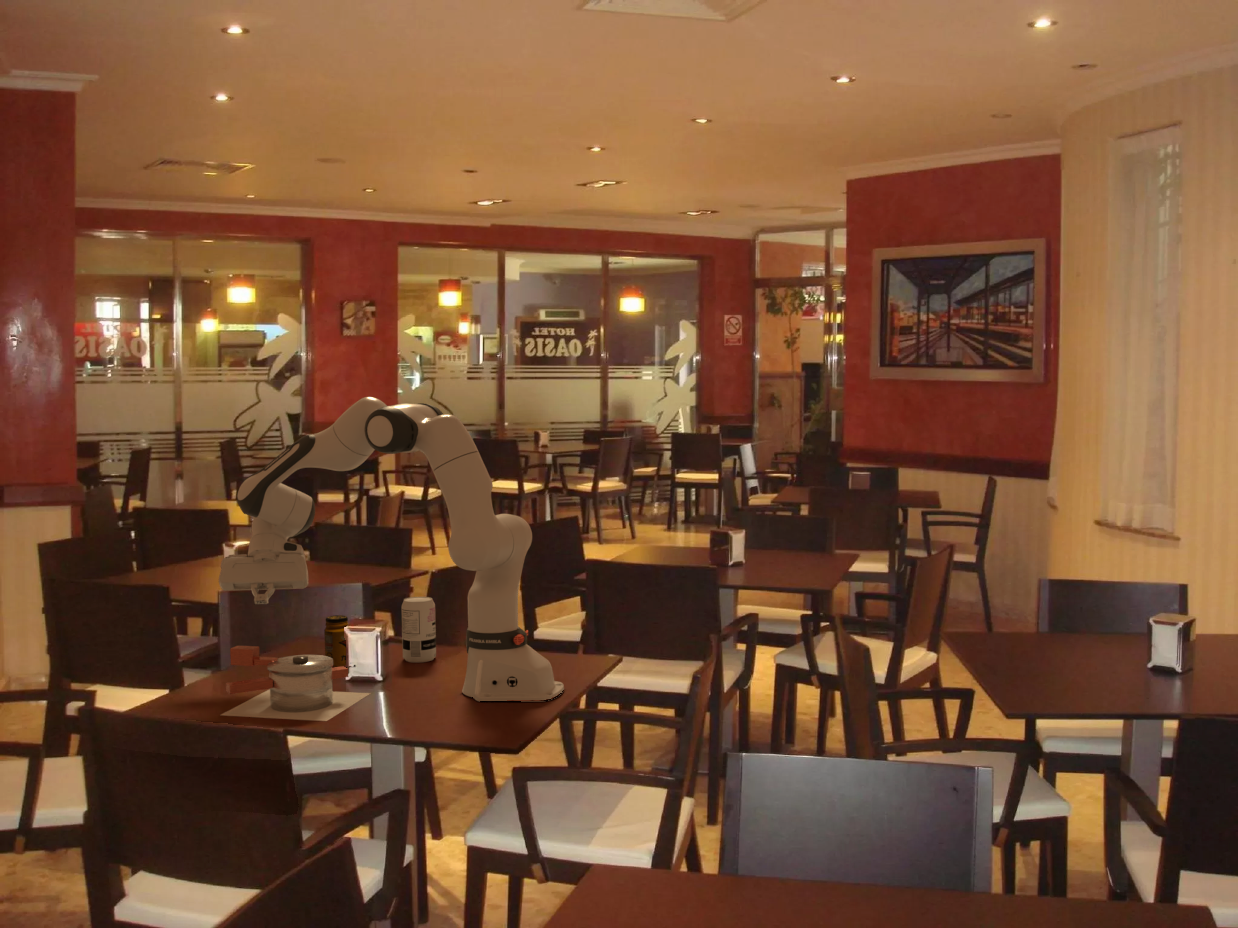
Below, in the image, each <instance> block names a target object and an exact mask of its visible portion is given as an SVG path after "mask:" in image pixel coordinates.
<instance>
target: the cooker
mask: <svg viewBox="0 0 1238 928" xmlns="http://www.w3.org/2000/svg"><path fill="white" fill-rule="evenodd" d="M348 677H349V667H347V668H346V667H344V666H341V667H334V668H332V667H331V668H329V669H327V670H324V671H320V672H315V673H308V674H294V675H289V674H277V673H272V672H270V671H269V675H268V676H264V677H259V678H258V677H257V678H250V679H243V680H237V681H231V682H226V683H225V690H226V692H227V694H229V695H234V694H242V693H248V692H255V691H263V690H269V689H270V706H271V708H272V709H273V710H276V711H280V712H308V711H315V710H319V709H323V708H326V707H328V706H330V705H332V703H333V680H334V679H335V680H336V679H342V678H348Z"/></svg>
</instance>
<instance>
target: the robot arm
mask: <svg viewBox="0 0 1238 928" xmlns="http://www.w3.org/2000/svg"><path fill="white" fill-rule="evenodd" d="M374 451H377V452H378V453H383V454H389V455H393V454H394V455H395V454H399V453H401V454H402V453H403V454H404V453H405V454H406V453H407V454H410V453H411V454H412V453H415V452H416V453H417V452H420V453H423V455H424V456H425V458H426V459H427V462H428V463H429V466H430V468H431V470H432V473H433V475H434V477H435V480H436V482H437V485H438V487H439V489H440V490H441V493H442V497H443V499H444V502H445V503H446V504H445V505H446V509H447V511H448V516H449V522H450V523H449V525H450V537H449V540H448V554H449V556H450V559H451V560H452V562H453V563H454V564H455V565H456V566H457V567H458V568H460V569H463V570H465V571H473V572H475V576H474V580H473V582H472V585H471V586H470V588H469V590H468V593H467V621H468V623H467V624H468V625H467V626H468V627H467V629H466V634H465V635H466V636H465V646H466V653H467V661H466V662H467V664H466V671H465V672H466V673H465V677H464V683H463V686H462V690H461V692H462V694H463V695H465V696H466V697H469V698H472V697H473V699H474V700H475V701H477V702H480V701H507V700H546V699H551V698H552V697H555V696H557V695H558V694H560V693H562V694H563V692H564V691H565V686H564V683H563V682H561V681H556V680H555V675H554V671H553V670H554V669H553V667H552V664H551V662H550V660H548V659H547V658H546V657H545V656H543V655H542V654H540V653H539V652H538V651H536V650H535V649H533V647H531V646H530V645H528V636H529V630H528V629H526V630H525V631H524V630H523V629H522V628H521V627H520V626H519V589H520V582H521V577H522V572H523V568H524V563H525V559H526V555H527V553H528V551H529V549H530V547H531V545H532V542H533V532H532V529H531V526H530V524H529V523H528V522H527V521H526V519H524V517H522V516H519V515H517V514H516V515H515V514H510V513H500V514H495V512H494V508H493V501H492V490H493V488H494V487H493V485H494V484H493V481H492V478H491V476H490V474H489V472H488V469H487V467H486V465H485V463H484V461H483V458H482V456H481V454H480V452H479V450H478V447H477V445H476V444H475V441H474V440H473V437H472V436H471V434H470V432H469V431H468V430H467V428H466V426H465V425H464V424H463V422H462V421H461V419H460V418H458V416H456V415H454V414H447V413H445V414H444V412H442V410H440V409H439V408H437V407H436V406H435V405H431V404H430V403H429V404H428V403H398V404H393V405H387V404H386V403H385V402H383V401H382V400H381V399H379V398H376V397H373V396H365V397H361V399H359V400H358V401H356V402H354V403H353V404H352V405H351V406H349V407H348V408H347V409H346V410H345V411H344V412H343V413H342V414H341V415H340V416H339V417H337V419H336V420H335V421H334V423H332V424H331V425H330V426H329V427H327V428H326V429H324V430H321V431H320V432H317V433H314V434H306V435H303V436H301V438H299V439H297V440H296V441H294V442H293V443H291V445H289V446H288V447H287V448H286V449H284V450H283V451H282V452H281V453H279V454H278V455H277V456H276V457H275V458H273V459H272V460H271V461H269V462H268V463H267V464H266V465H265V466H264V467H263V468H261V469H260V470H258V471H257V472H255V473H252V474H251V475H249V476H248V477H246V478H245V479H244V480H243V482H242V483H241V484H240V485H239V488H238V489H237V493H236V501H237V504H238V506H239V509H240V510H241V512H242V513H243V515H248V516H251V517H252V523H251V537H250V539H249V544H248V551H247V554H246V553H245V554H244V553H241V554H228V556H225V557H224V558H222V559H221V562H220V572H219V576H218V584H219V587H220V588H221V590H222V591H225V592H226V591H227V592H229V591H251V593H252V595H253V597H254V598H253V602H254V604H255V605H267V604H269V600H270V598H271V597H272V595H274V593H275V591H276V590H295V589H296V590H297V589H299V590H300V589H301V590H302V589H305V588H307V587H308V586H309V570H308V565H307V561H306V553H305V550H304V548H303V546H302V544H298V543H296V542H295V543H294V542H291V541H288V540H289V538H294V537H296V536H298V535H300V534H302V533H304V532H305V531H307V530H308V529H310V527H311V526H312V524H313V522H314V520H315V515H316V505H315V501H314V499H313V497H312V496H310V495H308V494H306V493H305V492H302V491H300V490H298V489H295V488H294V487H291V486H288V485H286V484H284V483H283V482H284V481H285V480H286V479H287V478H289V477H290V476H291V475H292V474H294V473H295V472H297V471H298V470H300V469H305V468H307V469H308V468H314V469H315V468H316V469H325V470H331V471H336V472H345V471H352V470H354V469H357V468H358V467H359V466H361V465H362V464H363V463H365V461H367V459H369V457H370V456H371V455H372V454H373V453H374ZM263 590H264V591H265V590H266V591H265V592H264V593H259V591H263ZM563 690H564V691H563ZM562 691H563V692H562ZM560 695H561V694H560ZM551 700H552V699H551Z"/></svg>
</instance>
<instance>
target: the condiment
mask: <svg viewBox="0 0 1238 928" xmlns="http://www.w3.org/2000/svg"><path fill="white" fill-rule="evenodd" d="M348 621H349V618H348V616H347V615H343V614H338V615H337V614H335V615H329V616H327V617H325V628H324V656H328V657H331V658H332V659H333V666H332V667H341V666H345V665H346V640H345V638H344V627H346V626H347V625H348V626H349V622H348Z"/></svg>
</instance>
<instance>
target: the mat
mask: <svg viewBox="0 0 1238 928" xmlns="http://www.w3.org/2000/svg"><path fill="white" fill-rule="evenodd" d="M371 694H372V693H371V692H370V693H369V692H353V691H351V692H350V691H333V703H332V705H330V706H328V707H326V708H323V709H319V710H315V711H308V712H280V711H276V710H273V709H272V708H271V706H270V688H269V689H266V690H265V691H264V692H262V693H260V694H258V695H256V696H254V697H252V698H250V699H248V700H247V701H245V702H243V703H241V704H239V705H237V706H235V707H232V708H231V709H229V710H227V711H225V712H223V713H221V714H220V716H222V717H223V716H227V717H244V718H245V717H246V718H249V717H250V718H260V719H261V718H264V719H280V720H281V719H283V720H294V721H295V720H298V721H315V722H316V721H317V722H327V721H329V720H331V719H332V718H334V717H336V716H338V715H339V714H341V713H342V712H344V711H345V710H348V709H349V708H350V707H352V706H354V705H355V704H356V703H358V702H360V701H361V700H363V699H365V698H366V697H368V696H369V695H371Z"/></svg>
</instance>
